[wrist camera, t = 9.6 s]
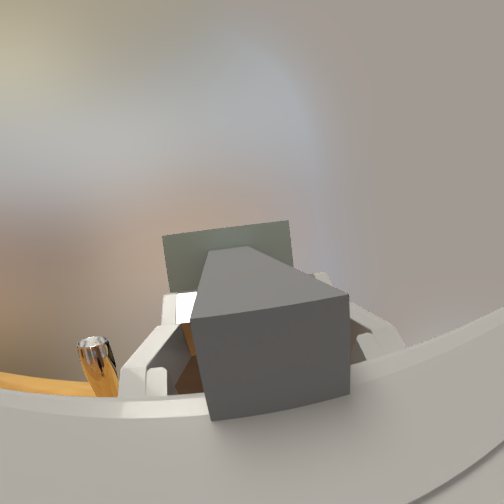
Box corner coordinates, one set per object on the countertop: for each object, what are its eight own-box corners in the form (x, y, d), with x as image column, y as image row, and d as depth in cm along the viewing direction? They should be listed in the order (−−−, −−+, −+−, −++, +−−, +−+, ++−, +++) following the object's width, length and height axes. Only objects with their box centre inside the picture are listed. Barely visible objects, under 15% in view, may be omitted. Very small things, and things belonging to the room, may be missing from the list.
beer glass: (135, 403, 51) (116, 337, 49) (114, 420, 44) (89, 350, 43) (112, 396, 53) (93, 333, 52) (91, 411, 47) (68, 344, 45)
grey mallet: (455, 385, 6) (463, 201, 6) (82, 455, 5) (18, 253, 5) (275, 269, 32) (269, 222, 31) (182, 281, 31) (175, 234, 30)
